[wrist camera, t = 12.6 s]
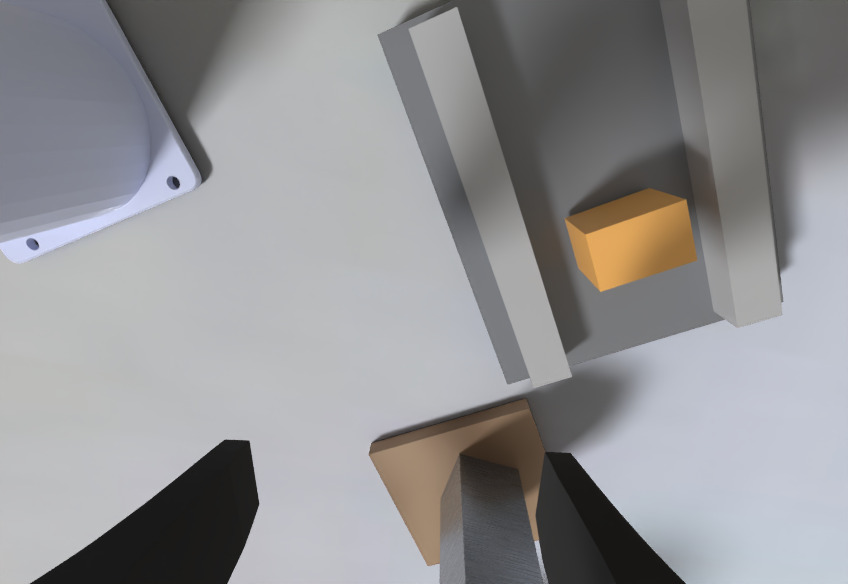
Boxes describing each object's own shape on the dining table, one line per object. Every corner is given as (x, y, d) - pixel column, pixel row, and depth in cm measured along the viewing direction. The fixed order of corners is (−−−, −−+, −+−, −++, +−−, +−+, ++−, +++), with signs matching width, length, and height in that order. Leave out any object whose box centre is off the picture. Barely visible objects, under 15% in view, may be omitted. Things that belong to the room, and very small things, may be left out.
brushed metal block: (440, 498, 22) (439, 657, 15) (459, 453, 21) (466, 602, 14) (496, 513, 22) (519, 675, 16) (518, 469, 21) (551, 624, 15)
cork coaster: (428, 552, 24) (427, 566, 24) (371, 443, 22) (368, 454, 21) (569, 518, 23) (573, 531, 22) (526, 398, 21) (529, 408, 20)
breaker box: (383, 42, 16) (370, 24, 13) (704, -104, 14) (771, -163, 11) (503, 366, 20) (512, 405, 17) (757, 288, 18) (814, 318, 15)
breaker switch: (564, 218, 16) (585, 234, 13) (649, 187, 15) (686, 199, 13) (578, 267, 16) (600, 292, 14) (660, 240, 16) (697, 260, 14)
